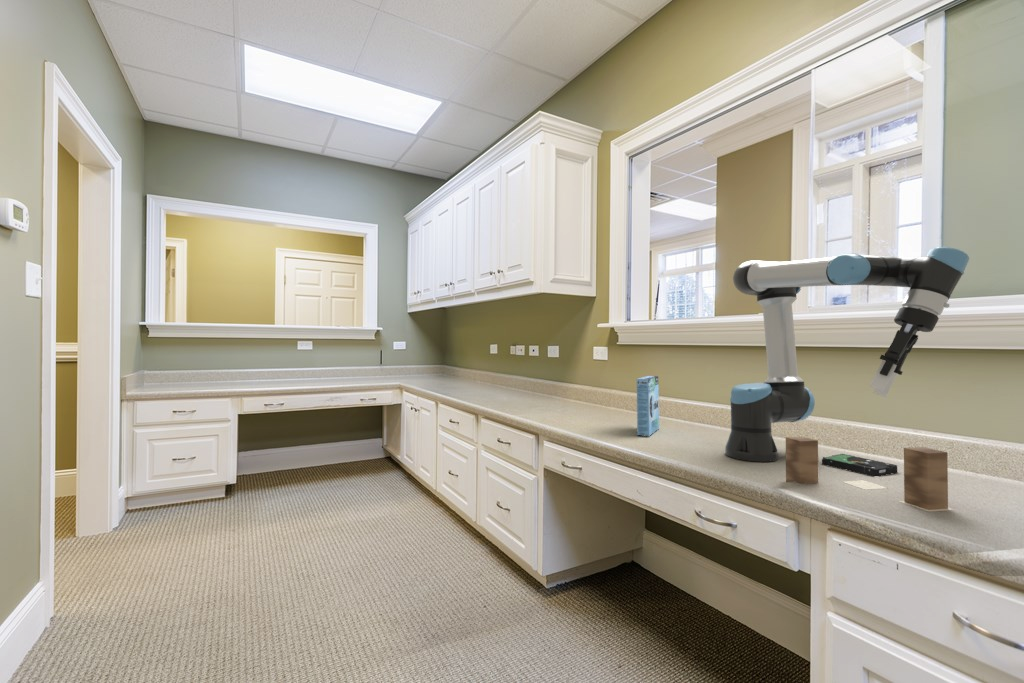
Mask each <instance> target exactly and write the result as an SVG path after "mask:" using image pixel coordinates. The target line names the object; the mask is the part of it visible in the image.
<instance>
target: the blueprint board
mask: <svg viewBox="0 0 1024 683" xmlns="http://www.w3.org/2000/svg"><path fill="white" fill-rule="evenodd" d="M843 483H845V484H847V485H850V486H853V487H856V488H859V489H862V490H865V491H866V490H867V491H868V490H884V489H887V487H886V486H882V485H879V484H876V483H874V482H870V481H866V480H863V479H861V480H849V481H848V480H847V481H843ZM898 502H900V503H901V504H902V503H903V504H905V505H909V506H911V507H914V508H917V509H920V510H922V511H926V512H942V511H945V512H946V511H955V509H953V508H951V507H948V509H935V510H927V509H924V508H921V507H918V506H915V505H912V504H909V503H906V502H904V500H898Z"/></svg>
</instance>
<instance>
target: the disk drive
mask: <svg viewBox="0 0 1024 683" xmlns="http://www.w3.org/2000/svg"><path fill="white" fill-rule="evenodd" d="M823 464H824V466H827V465H828V467H831V466H832V467H833V468H836V467H837V468H836V469H840V468H841V469H840V470H844V469H847V470H846V471H849V470H851V471H850V472H853V471H855V472H854V473H857V472H860V473H859V474H861V473H863V474H862V475H865V474H867V475H866V476H869V475H871V476H870V477H874V476H879V477H882V476H881V475H884V476H887V475H886V474H889V475H892V474H891V473H894V474H897V473H898V465H897V464H893V463H888V462H883V461H879V460H874V459H870V458H869V459H868V458H864V457H859V456H854V455H850V454H845V453H840V454H834V455H831V456H826V457H825V456H822V459H821V465H823ZM896 472H897V473H896Z"/></svg>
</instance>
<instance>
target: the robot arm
mask: <svg viewBox="0 0 1024 683" xmlns="http://www.w3.org/2000/svg"><path fill="white" fill-rule="evenodd" d="M969 261H970V256H969V254H967V253H966V252H964V251H963V250H961V249H957V248H954V247H949V246H937V247H934V248H931V249H930V250H929V251H928V253H926V255H925V256H922V257H921V256H920V257H919V256H917V257H909V256H894V255H867V254H858V253H847V254H846V253H844V254H840V255H836V256H832V257H831V256H829V257H822V258H810V259H803V260H802V259H801V260H791V261H783V260H782V261H775V260H774V261H769V260H768V261H767V260H748V261H745V262H742V263H741V264H740V265H738V266H737V267H736V269H735V271H734V272H733V275H732V281H733V284H734V286H735V288H736V290H737V291H739V293H742V294H743V295H748V296H756V301H757V302H756V303H757V304H758V305H760V307H762V311H763V312H762V315H763V326H764V327H763V328H764V338H765V351H766V360H767V361H766V362H767V374H768V376H767V378H766V379H765V380H763V382H752V383H751V382H750V383H749V382H748V383H741V384H736V385H734V386H733V387H732V389H731V390H730V399H729V401H730V432H729V433H730V434H729V436H728V439H727V442H726V445H725V447H724V448H725V455H726V456H728V457H730V458H733V459H737V460H741V461H749V462H756V463H757V462H758V463H759V462H763V463H764V462H765V463H766V462H768V463H769V462H774V461H775V462H776V461H777V460H779V450H778V449H777V445H776V442H775V439H774V438H773V433H772V424H774V423H777V424H778V423H795V422H800V421H801V422H802V421H804V420H806V419H808V418H809V417H810V415H812V413H813V412H814V410H815V395H814V394H813V393H812V392H811V390H810V389H809V388H808V387H806V386H805V380H804V379H802V378H801V377H800V376H799V371H798V359H797V358H798V357H797V349H796V348H797V346H796V337H795V327H794V325H795V324H794V313H793V304H794V303H795V301H796V300H797V294H799V293H800V292H801V290H802V288H804V287H825V286H826V287H831V286H877V287H879V286H881V287H900V288H909V290H908V291H907V293H906V295H905V297H904V299H903V301H902V303H901V306H902V307H901V308H899V309H898V311H897V313H896V315H895V317H894V319H893V321H894V322H895V323H896V324H897V325H898V326H900V329H898V330H897V331H896V333H895V335H894V338H893V340H892V342H891V344H890V346H889V347H888V348H887V350H886V352H885V353H884V354H880V356H879V360H882V361H881V362H880V365H879V366H878V369H877V370H876V372H875V374H874V376H873V378H872V380H871V382H870V384H869V387H871V388H874V389H873V392H872V393H873V394H876V395H877V396H881V397H885V398H886V397H887V396H888V394H889V392H890V390H891V388H892V386H893V385H894V382H895V380H896V379H897V377H898V376H899V375H900V376H902V374H903V372H904V371H902V367H903V365H904V363H905V361H906V359H907V356H908V354H910V353H911V351H912V350H913V347H914V346H915V345H916V344H917V342H918V340H919V335H917V333H918V332H923V333H930V332H933V330H934V328H936V327H935V326H936V325H937V323H938V321H939V319H940V318H939V316H940V315H942V313H943V311H944V309H945V308H946V309H947V308H949V307H950V303H948V301H949V300H950V298H951V296H952V294H953V292H954V290H955V288H956V286H957V285H958V283H959V281H960V280H961V278H962V276H964V274H965V270H966V267H967V265H968V263H969Z"/></svg>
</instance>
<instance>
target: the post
mask: <svg viewBox="0 0 1024 683" xmlns="http://www.w3.org/2000/svg"><path fill="white" fill-rule="evenodd" d="M785 482H786V483H792V482H793V483H794V482H795V483H799V484H818V483H819V440H818V439H814V438H810V437H806V436H785Z"/></svg>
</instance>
